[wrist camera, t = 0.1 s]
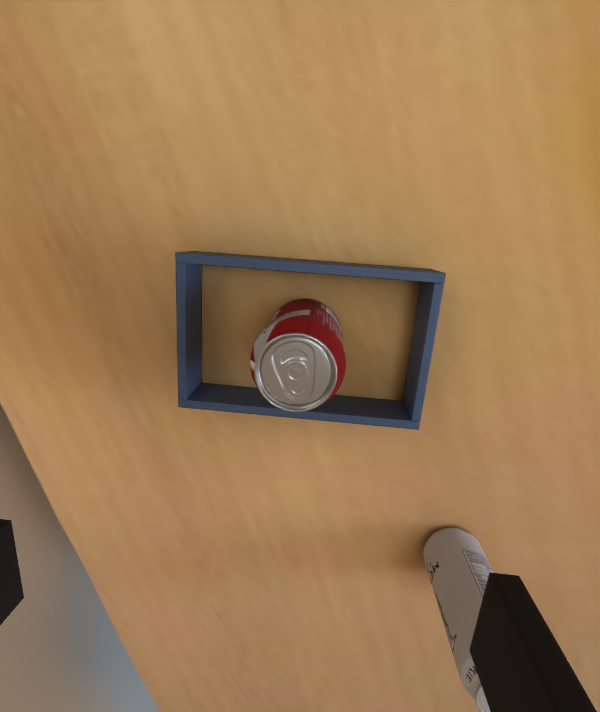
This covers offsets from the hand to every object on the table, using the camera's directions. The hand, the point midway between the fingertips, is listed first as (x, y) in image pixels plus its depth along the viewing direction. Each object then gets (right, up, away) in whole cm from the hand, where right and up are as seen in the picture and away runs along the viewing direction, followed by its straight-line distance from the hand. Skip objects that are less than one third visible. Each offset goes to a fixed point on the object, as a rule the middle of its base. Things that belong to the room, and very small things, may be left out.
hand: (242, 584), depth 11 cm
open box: (+2, +8, +27) cm, 28 cm away
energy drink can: (+18, -15, +32) cm, 40 cm away
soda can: (+2, +9, +27) cm, 28 cm away
